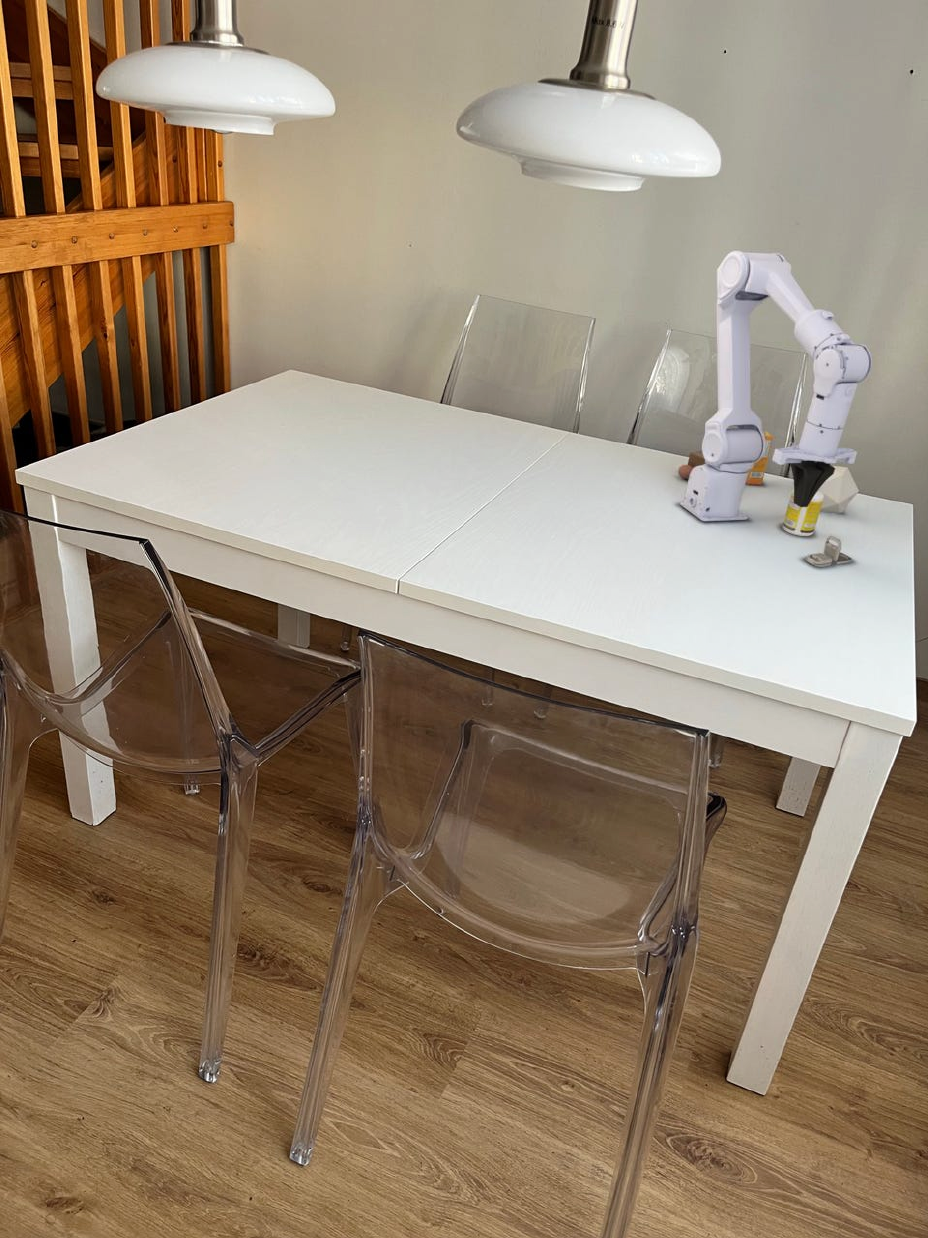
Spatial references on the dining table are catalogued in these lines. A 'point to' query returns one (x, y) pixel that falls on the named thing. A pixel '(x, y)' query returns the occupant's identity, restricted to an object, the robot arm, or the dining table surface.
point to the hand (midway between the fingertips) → (800, 504)
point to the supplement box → (760, 464)
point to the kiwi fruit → (685, 471)
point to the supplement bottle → (803, 515)
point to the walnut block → (696, 459)
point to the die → (838, 490)
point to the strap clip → (828, 554)
